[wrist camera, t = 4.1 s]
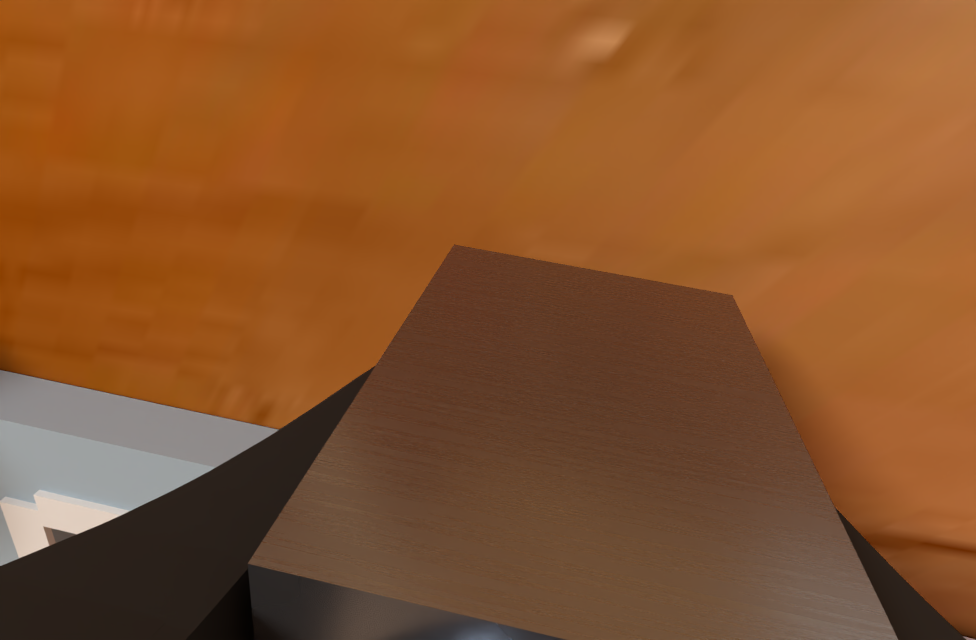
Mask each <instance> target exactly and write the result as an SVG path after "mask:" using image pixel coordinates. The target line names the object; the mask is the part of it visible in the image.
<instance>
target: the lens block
mask: <svg viewBox="0 0 976 640" xmlns="http://www.w3.org/2000/svg"><path fill="white" fill-rule="evenodd" d="M248 573H249V584H250V595H251V606H252V617H253V628H254V639H255V640H898V638H897V636H896V634H895V632H894V630H893V628H892V626H891V624H890V621H889V619H888V617H887V615H886V613H885V611H884V609H883V607H882V605H881V603H880V601H879V599H878V597H877V594H876V592H875V590H874V588H873V586H872V584H871V582H870V580H869V578H868V576H867V574H866V572H865V570H864V568H863V565H862V563H861V561H860V559H859V557H858V555H857V553H856V551H855V549H854V547H853V545H852V543H851V541H850V538H849V536H848V534H847V532H846V530H845V528H844V526H843V524H842V522H841V520H840V518H839V516H838V514H837V511H836V509H835V507H834V505H833V503H832V501H831V499H830V497H829V495H828V493H827V491H826V489H825V487H824V485H823V482H822V480H821V478H820V476H819V474H818V472H817V470H816V468H815V466H814V464H813V462H812V460H811V458H810V455H809V453H808V451H807V449H806V447H805V445H804V443H803V441H802V439H801V437H800V435H799V433H798V431H797V428H796V426H795V424H794V422H793V420H792V418H791V416H790V414H789V412H788V410H787V408H786V406H785V404H784V402H783V399H782V397H781V395H780V393H779V391H778V389H777V387H776V385H775V383H774V381H773V379H772V377H771V375H770V372H769V370H768V368H767V366H766V364H765V362H764V360H763V358H762V356H761V354H760V352H759V350H758V348H757V345H756V343H755V341H754V339H753V337H752V335H751V333H750V331H749V329H748V327H747V325H746V323H745V321H744V319H743V316H742V314H741V312H740V310H739V308H738V306H737V304H736V302H735V300H734V298H733V296H732V295H728V294H722V293H717V292H711V291H706V290H700V289H695V288H689V287H684V286H678V285H673V284H667V283H662V282H656V281H651V280H645V279H640V278H634V277H629V276H623V275H618V274H612V273H607V272H601V271H596V270H590V269H585V268H579V267H574V266H568V265H563V264H557V263H552V262H546V261H541V260H535V259H530V258H524V257H519V256H513V255H508V254H503V253H497V252H492V251H486V250H481V249H475V248H470V247H464V246H459V245H454V246H453V247H452V249H451V250H450V252H449V254H448V255H447V257H446V258H445V260H444V261H443V263H442V264H441V266H440V267H439V269H438V270H437V272H436V274H435V275H434V277H433V278H432V280H431V281H430V283H429V284H428V286H427V287H426V289H425V291H424V292H423V294H422V295H421V297H420V298H419V300H418V301H417V303H416V304H415V306H414V308H413V309H412V311H411V312H410V314H409V315H408V317H407V318H406V320H405V321H404V323H403V325H402V326H401V328H400V329H399V331H398V332H397V334H396V335H395V337H394V338H393V340H392V342H391V343H390V345H389V346H388V348H387V349H386V351H385V352H384V354H383V355H382V357H381V359H380V360H379V362H378V363H377V365H376V366H375V368H374V369H373V371H372V372H371V374H370V375H369V377H368V379H367V380H366V382H365V383H364V385H363V386H362V388H361V389H360V391H359V392H358V394H357V396H356V397H355V399H354V400H353V402H352V403H351V405H350V406H349V408H348V409H347V411H346V413H345V414H344V416H343V417H342V419H341V420H340V422H339V423H338V425H337V426H336V428H335V430H334V431H333V433H332V434H331V436H330V437H329V439H328V440H327V442H326V443H325V445H324V447H323V448H322V450H321V451H320V453H319V454H318V456H317V457H316V459H315V460H314V462H313V464H312V465H311V467H310V468H309V470H308V471H307V473H306V474H305V476H304V477H303V479H302V480H301V482H300V484H299V485H298V487H297V488H296V490H295V491H294V493H293V494H292V496H291V497H290V499H289V501H288V502H287V504H286V505H285V507H284V508H283V510H282V511H281V513H280V514H279V516H278V518H277V519H276V521H275V522H274V524H273V525H272V527H271V528H270V530H269V531H268V533H267V535H266V536H265V538H264V539H263V541H262V542H261V544H260V545H259V547H258V548H257V550H256V552H255V553H254V555H253V556H252V558H251V559H250V561H249V562H248Z"/></svg>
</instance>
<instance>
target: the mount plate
mask: <svg viewBox="0 0 976 640" xmlns="http://www.w3.org/2000/svg"><path fill="white" fill-rule="evenodd" d="M276 431H278V429H273V428H268V427H264V426H259V425H254V424H250V423H245V422H240V421H236V420H231V419H226V418H222V417H217V416H212V415H208V414H203V413H198V412H194V411H189V410H184V409H180V408H175V407H170V406H166V405H161V404H156V403H152V402H147V401H143V400H138V399H133V398H129V397H124V396H119V395H115V394H110V393H105V392H101V391H96V390H91V389H87V388H82V387H77V386H73V385H68V384H63V383H59V382H54V381H49V380H45V379H40V378H35V377H31V376H26V375H21V374H17V373H12V372H7V371H3V370H0V566H2V565H4V564H7V563H9V562H11V561H14V560H16V559H19V558H21V557H23V556H26V555H28V554H31V553H33V552H36V551H38V550H40V549H43V548H45V547H48V546H50V545H52V544H55V543H57V542H60V541H62V540H64V539H67V538H69V537H72V536H74V535H77V534H79V533H81V532H84V531H86V530H89V529H91V528H93V527H96V526H98V525H101V524H103V523H105V522H107V521H110V520H112V519H114V518H116V517H118V516H121V515H123V514H125V513H127V512H129V511H131V510H133V509H135V508H137V507H139V506H141V505H144V504H146V503H148V502H150V501H152V500H154V499H156V498H158V497H160V496H162V495H164V494H166V493H168V492H170V491H172V490H174V489H176V488H178V487H180V486H182V485H184V484H186V483H188V482H190V481H192V480H194V479H196V478H197V477H199V476H201V475H203V474H205V473H207V472H209V471H211V470H212V469H214V468H216V467H217V466H219V465H221V464H223V463H224V462H226V461H228V460H229V459H231V458H233V457H235V456H236V455H238V454H240V453H241V452H243V451H245V450H247V449H248V448H250V447H252V446H253V445H255V444H257V443H259V442H260V441H262V440H264V439H265V438H267V437H269V436H270V435H272V434H273V433H275V432H276Z"/></svg>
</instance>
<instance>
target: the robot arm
mask: <svg viewBox="0 0 976 640" xmlns="http://www.w3.org/2000/svg"><path fill="white" fill-rule="evenodd" d="M374 368H375V366H374V367H373V368H371V369H370V370H368V371H367V372H365V373H363V374H362V375H360V376H359V377H358V378H356V379H355V380H353V381H352V382H350V383H349V384H347V385H346V386H344V387H343V388H341V389H340V390H339V391H337V392H336V393H334V394H333V395H331V396H330V397H328V398H327V399H325V400H324V401H322V402H321V403H319V404H318V405H316V406H315V407H314V408H312V409H310V410H309V411H307V412H306V413H304V414H303V415H301V416H300V417H298V418H297V419H295V420H293V421H292V422H290V423H289V424H287V425H286V426H284V427H283V428H281V429H280V430H278V431H276V432H275V433H273V434H272V435H270V436H269V437H267V438H265V439H264V440H262V441H260V442H259V443H257V444H255V445H253V446H252V447H250V448H248V449H247V450H245V451H243V452H241V453H240V454H238V455H236V456H235V457H233V458H231V459H229V460H228V461H226V462H224V463H223V464H221V465H219V466H217V467H216V468H214V469H212V470H211V471H209V472H207V473H205V474H203V475H201V476H199V477H197V478H196V479H194V480H192V481H190V482H188V483H186V484H184V485H182V486H180V487H178V488H176V489H174V490H172V491H170V492H168V493H166V494H164V495H162V496H160V497H158V498H156V499H154V500H152V501H150V502H148V503H146V504H144V505H141V506H139V507H137V508H135V509H133V510H131V511H129V512H127V513H125V514H123V515H121V516H118V517H116V518H114V519H112V520H110V521H107V522H105V523H103V524H101V525H98V526H96V527H93V528H91V529H89V530H86V531H84V532H81V533H79V534H77V535H74V536H72V537H69V538H67V539H64V540H62V541H60V542H57V543H55V544H52V545H50V546H48V547H45V548H43V549H40V550H38V551H36V552H33V553H31V554H28V555H26V556H23V557H21V558H19V559H16V560H14V561H11V562H9V563H7V564H4V565H2V566H0V640H255V639H254V628H253V617H252V606H251V595H250V584H249V573H248V562H249V561H250V559H251V558H252V556H253V555H254V553H255V552H256V550H257V548H258V547H259V545H260V544H261V542H262V541H263V539H264V538H265V536H266V535H267V533H268V531H269V530H270V528H271V527H272V525H273V524H274V522H275V521H276V519H277V518H278V516H279V514H280V513H281V511H282V510H283V508H284V507H285V505H286V504H287V502H288V501H289V499H290V497H291V496H292V494H293V493H294V491H295V490H296V488H297V487H298V485H299V484H300V482H301V480H302V479H303V477H304V476H305V474H306V473H307V471H308V470H309V468H310V467H311V465H312V464H313V462H314V460H315V459H316V457H317V456H318V454H319V453H320V451H321V450H322V448H323V447H324V445H325V443H326V442H327V440H328V439H329V437H330V436H331V434H332V433H333V431H334V430H335V428H336V426H337V425H338V423H339V422H340V420H341V419H342V417H343V416H344V414H345V413H346V411H347V409H348V408H349V406H350V405H351V403H352V402H353V400H354V399H355V397H356V396H357V394H358V392H359V391H360V389H361V388H362V386H363V385H364V383H365V382H366V380H367V379H368V377H369V375H370V374H371V372H372V371H373V369H374ZM835 509H836V508H835ZM836 511H837V514H838V516H839V518H840V520H841V522H842V524H843V526H844V528H845V530H846V532H847V534H848V536H849V538H850V541H851V543H852V545H853V547H854V549H855V551H856V553H857V555H858V557H859V559H860V561H861V563H862V565H863V568H864V570H865V572H866V574H867V576H868V578H869V580H870V582H871V584H872V586H873V588H874V590H875V592H876V594H877V597H878V599H879V601H880V603H881V605H882V607H883V609H884V611H885V613H886V615H887V617H888V619H889V621H890V624H891V626H892V628H893V630H894V632H895V634H896V636H897V638H898V640H976V639H973V638H968V637H964V636H962V635H961V634H960V633H959V632H958V631H957V630H956V629H955V628H954V627H952V626H951V625H950V624H949V623H948V622H947V621H946V620H945V619H944V618H943V617H942V616H941V615H940V614H939V613H938V612H937V611H936V610H935V609H934V608H933V607H932V606H931V605H929V604H928V603H927V602H926V601H925V600H924V599H923V598H922V597H921V596H920V595H919V594H918V593H917V592H916V591H915V590H914V589H913V588H912V587H911V586H910V585H909V584H908V583H907V582H906V581H905V580H904V579H903V578H902V577H901V576H900V575H899V574H898V573H897V572H896V571H895V570H894V569H893V568H892V567H891V566H890V564H889V563H888V562H887V561H886V560H885V559H884V558H883V557H882V556H881V555H880V554H879V553H878V552H877V551H876V550H875V549H874V548H873V547H872V546H871V545H870V544H869V543H868V542H867V541H866V540H865V539H864V538H863V536H862V535H861V534H860V533H859V532H858V531H857V530H856V529H855V528H854V527H853V526H852V525H851V524H850V523H849V522H848V521H847V520H846V518H845V517H844V516H843V515H842V514H841V513H840V512H839V511H838V510H837V509H836Z"/></svg>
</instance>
